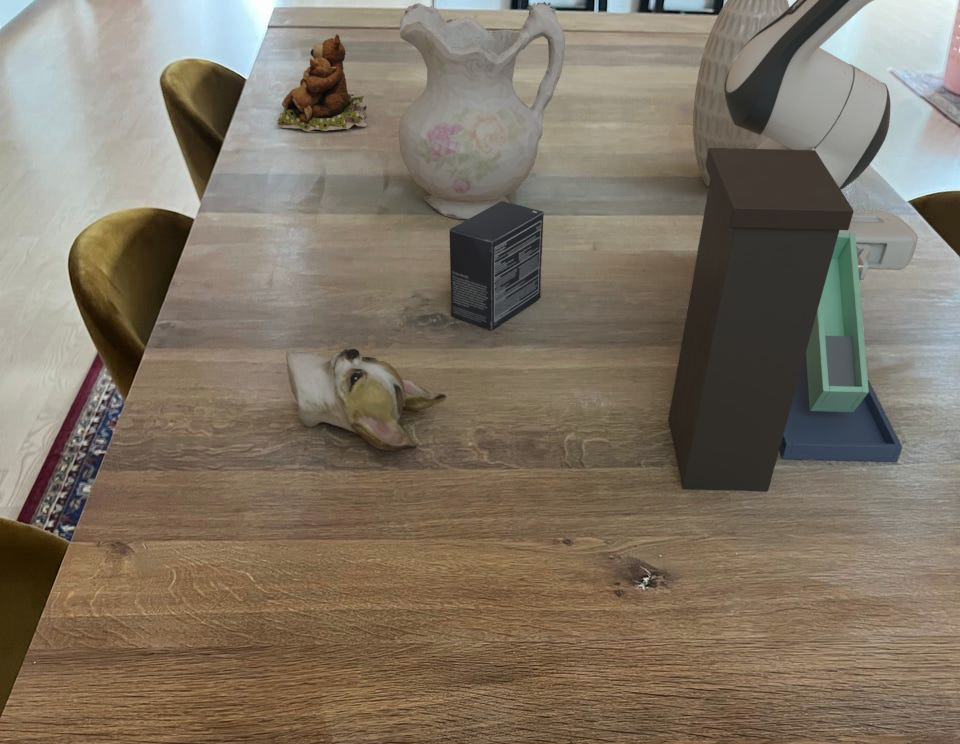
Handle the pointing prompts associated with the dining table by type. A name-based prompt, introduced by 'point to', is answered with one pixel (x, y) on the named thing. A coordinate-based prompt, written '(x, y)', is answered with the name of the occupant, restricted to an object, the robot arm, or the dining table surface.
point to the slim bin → (838, 336)
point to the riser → (751, 311)
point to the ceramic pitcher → (474, 108)
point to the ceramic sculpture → (356, 396)
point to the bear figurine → (323, 94)
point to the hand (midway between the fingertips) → (830, 272)
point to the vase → (739, 20)
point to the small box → (496, 264)
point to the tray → (838, 430)
